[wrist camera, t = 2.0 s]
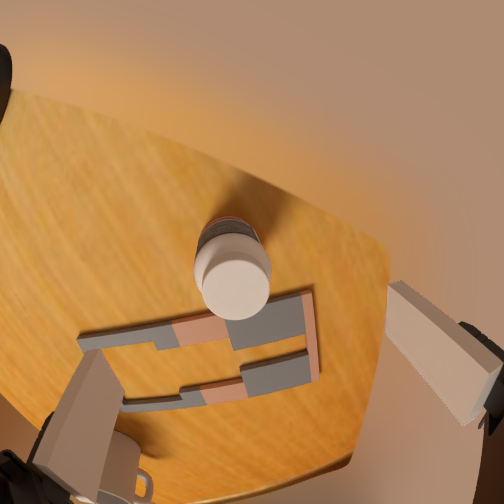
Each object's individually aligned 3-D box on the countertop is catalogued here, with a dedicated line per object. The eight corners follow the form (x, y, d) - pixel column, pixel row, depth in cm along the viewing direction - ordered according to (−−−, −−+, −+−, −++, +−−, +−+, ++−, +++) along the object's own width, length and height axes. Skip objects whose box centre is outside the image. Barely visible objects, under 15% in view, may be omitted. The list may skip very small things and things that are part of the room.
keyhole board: (78, 335, 26) (76, 339, 25) (309, 289, 27) (311, 292, 26) (123, 408, 30) (122, 412, 29) (317, 375, 31) (319, 379, 30)
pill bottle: (186, 235, 24) (171, 277, 16) (239, 203, 24) (252, 229, 15) (219, 284, 26) (221, 342, 17) (269, 255, 25) (295, 302, 17)
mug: (82, 436, 31) (66, 488, 21) (103, 420, 30) (86, 481, 20) (141, 468, 35) (136, 518, 25) (169, 456, 34) (166, 513, 24)
